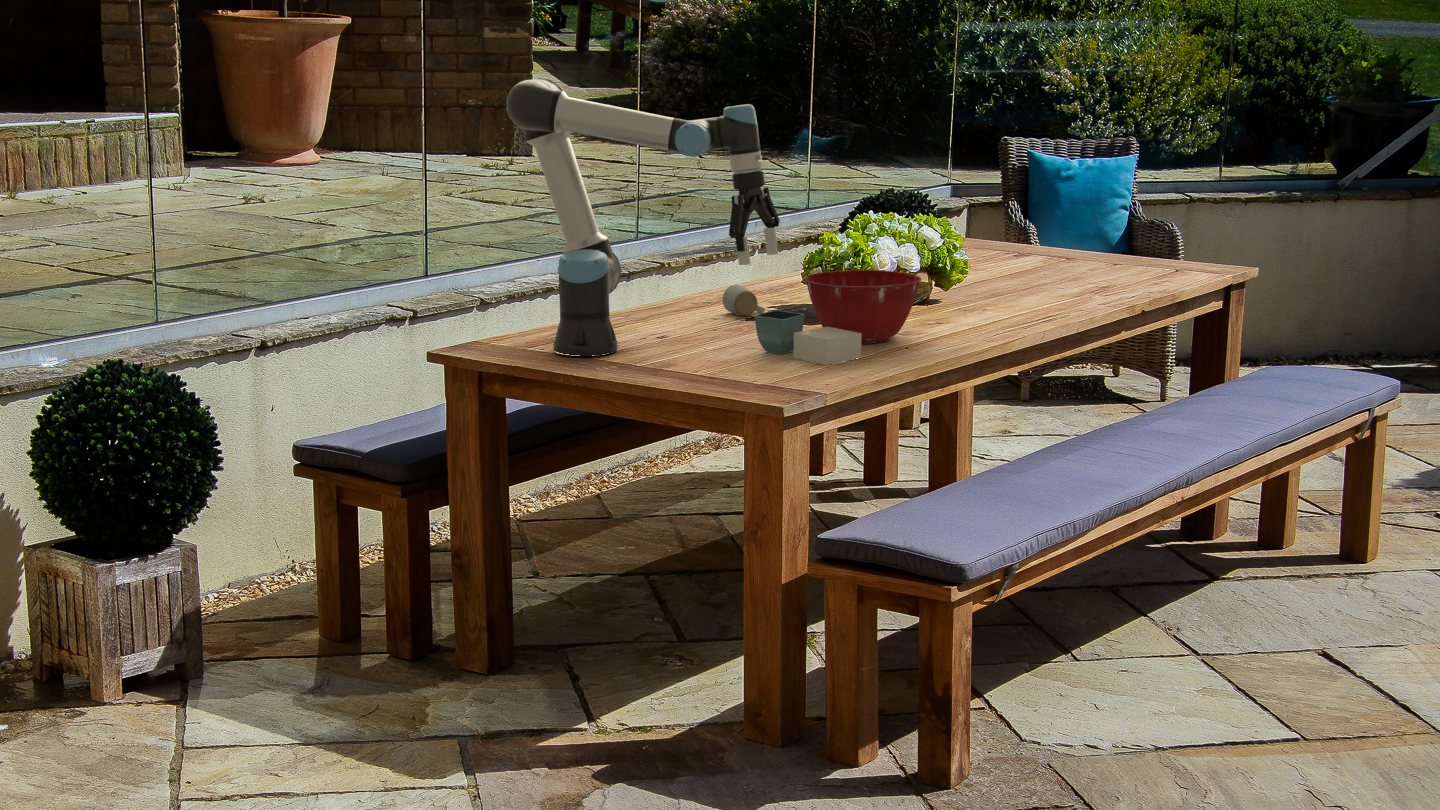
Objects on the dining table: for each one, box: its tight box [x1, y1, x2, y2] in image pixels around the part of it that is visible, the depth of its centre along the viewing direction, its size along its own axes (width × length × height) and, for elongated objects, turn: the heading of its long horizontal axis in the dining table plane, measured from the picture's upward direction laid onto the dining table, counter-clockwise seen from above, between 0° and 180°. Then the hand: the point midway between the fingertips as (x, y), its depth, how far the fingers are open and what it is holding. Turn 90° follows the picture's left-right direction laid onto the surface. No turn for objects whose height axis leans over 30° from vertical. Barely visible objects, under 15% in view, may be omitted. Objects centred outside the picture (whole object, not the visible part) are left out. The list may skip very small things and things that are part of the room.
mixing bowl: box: [804, 269, 922, 344], centre depth 356 cm, size 28×28×16 cm
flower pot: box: [754, 309, 806, 355], centre depth 341 cm, size 9×9×9 cm
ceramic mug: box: [722, 284, 766, 317], centre depth 390 cm, size 11×8×8 cm
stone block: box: [793, 327, 862, 366], centre depth 334 cm, size 11×11×6 cm
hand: (759, 259), depth 348 cm, fingers open, 13 cm apart
